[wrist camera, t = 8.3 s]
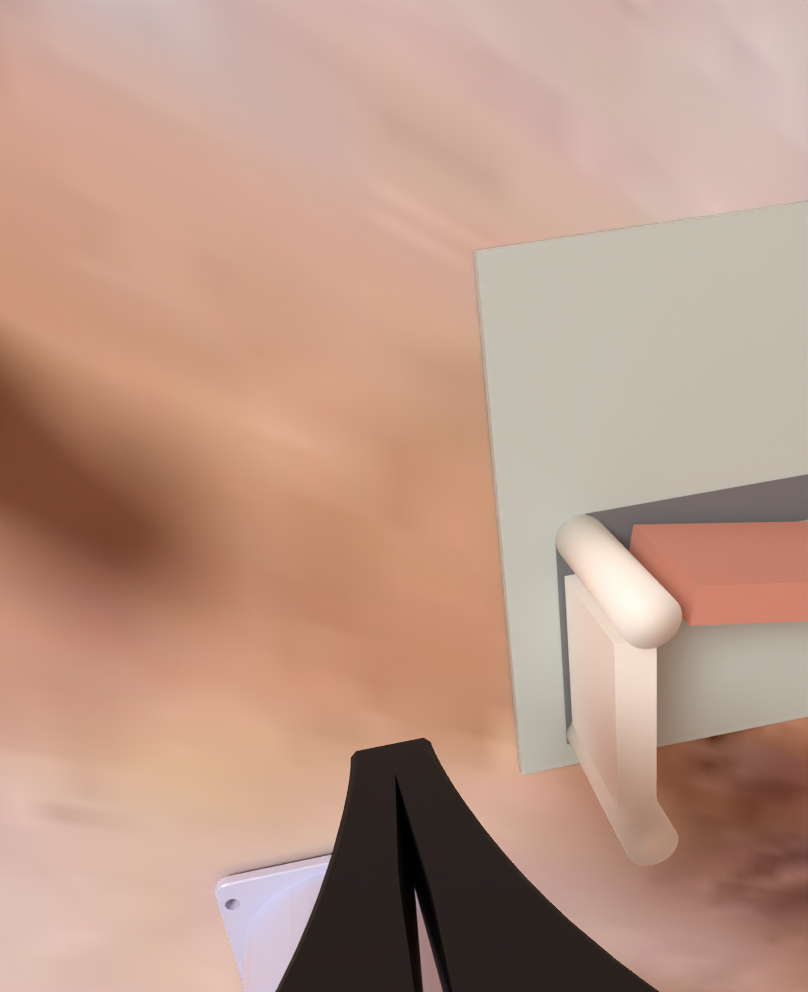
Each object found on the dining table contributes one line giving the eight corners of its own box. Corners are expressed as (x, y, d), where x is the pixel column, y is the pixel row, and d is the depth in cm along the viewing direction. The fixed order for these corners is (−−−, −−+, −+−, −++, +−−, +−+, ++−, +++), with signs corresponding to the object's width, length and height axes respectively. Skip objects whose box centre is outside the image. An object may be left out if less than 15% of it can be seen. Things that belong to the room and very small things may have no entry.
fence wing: (626, 565, 24) (703, 649, 19) (634, 518, 23) (715, 593, 18) (849, 559, 25) (971, 637, 20) (862, 514, 24) (991, 584, 20)
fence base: (606, 736, 27) (678, 859, 22) (563, 745, 27) (626, 871, 22) (599, 505, 24) (682, 588, 18) (549, 514, 23) (620, 600, 18)
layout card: (903, 689, 28) (912, 696, 28) (519, 767, 27) (522, 775, 27) (983, 175, 21) (996, 174, 21) (473, 250, 20) (477, 251, 20)
